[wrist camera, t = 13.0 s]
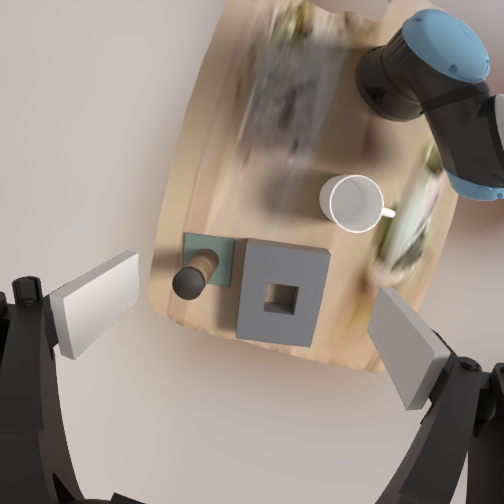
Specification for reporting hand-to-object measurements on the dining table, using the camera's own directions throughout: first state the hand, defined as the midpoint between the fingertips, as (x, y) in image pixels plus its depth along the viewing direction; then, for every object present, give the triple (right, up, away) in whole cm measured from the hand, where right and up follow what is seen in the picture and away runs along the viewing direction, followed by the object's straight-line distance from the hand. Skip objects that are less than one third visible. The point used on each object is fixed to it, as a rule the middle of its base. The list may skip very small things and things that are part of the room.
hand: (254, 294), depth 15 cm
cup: (+17, +11, +34) cm, 40 cm away
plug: (-8, +1, +38) cm, 39 cm away
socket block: (+5, -5, +39) cm, 39 cm away
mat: (-8, +1, +38) cm, 39 cm away
